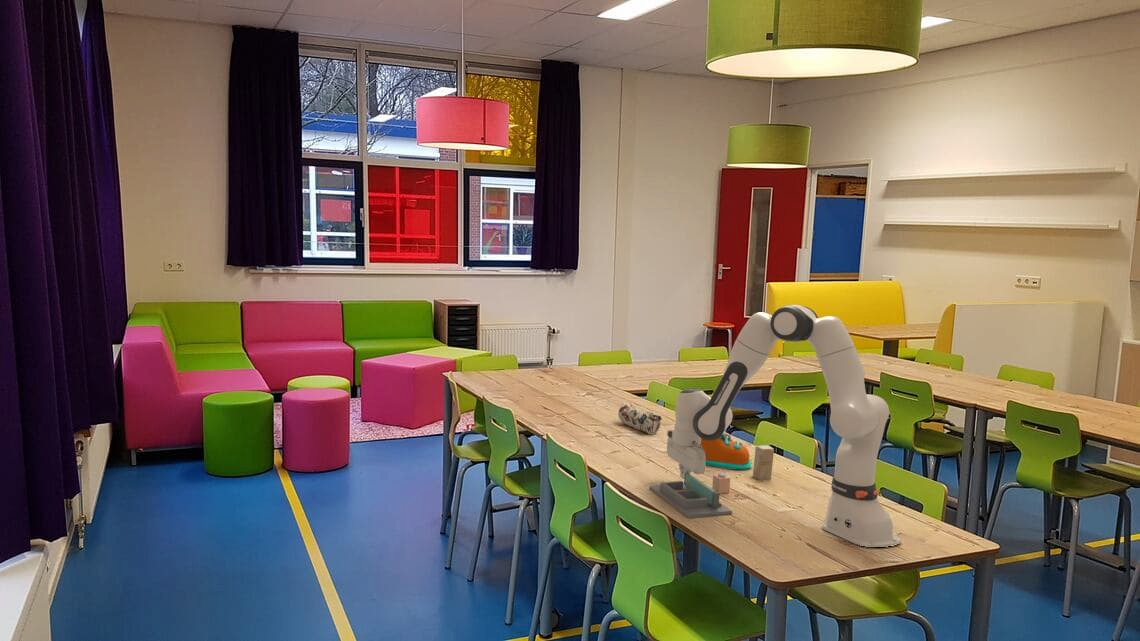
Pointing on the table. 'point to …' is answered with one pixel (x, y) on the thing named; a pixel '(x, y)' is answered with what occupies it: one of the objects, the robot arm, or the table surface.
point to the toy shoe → (726, 453)
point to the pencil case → (639, 418)
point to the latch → (699, 488)
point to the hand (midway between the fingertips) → (684, 478)
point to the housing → (689, 500)
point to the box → (763, 462)
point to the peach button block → (721, 483)
